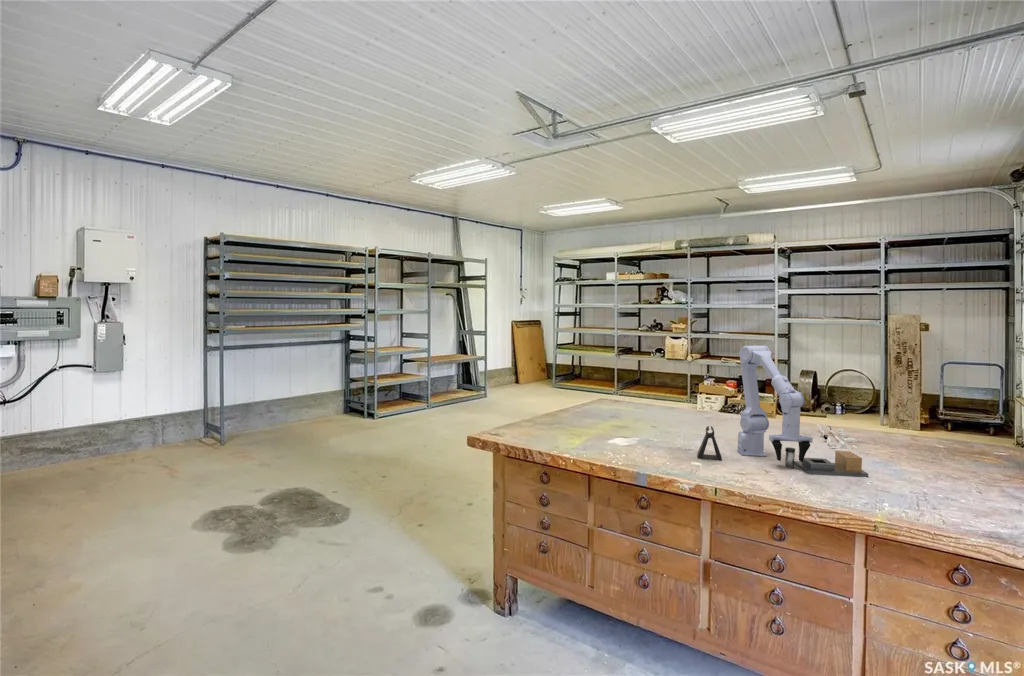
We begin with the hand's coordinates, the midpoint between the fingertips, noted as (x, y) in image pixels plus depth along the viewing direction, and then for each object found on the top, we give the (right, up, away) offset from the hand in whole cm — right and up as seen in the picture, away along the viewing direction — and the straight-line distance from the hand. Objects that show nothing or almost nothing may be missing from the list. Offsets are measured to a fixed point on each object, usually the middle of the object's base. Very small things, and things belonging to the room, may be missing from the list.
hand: (789, 460), depth 195 cm
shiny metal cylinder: (0, -2, 0) cm, 2 cm away
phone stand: (-25, -2, +12) cm, 28 cm away
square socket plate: (+12, -3, -4) cm, 13 cm away
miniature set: (+42, -1, +40) cm, 58 cm away
